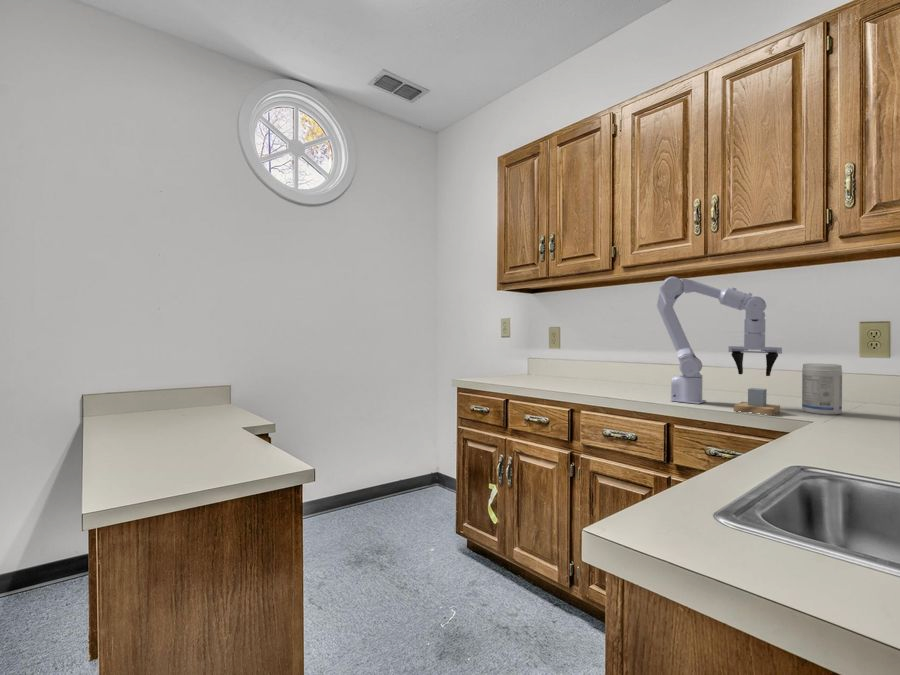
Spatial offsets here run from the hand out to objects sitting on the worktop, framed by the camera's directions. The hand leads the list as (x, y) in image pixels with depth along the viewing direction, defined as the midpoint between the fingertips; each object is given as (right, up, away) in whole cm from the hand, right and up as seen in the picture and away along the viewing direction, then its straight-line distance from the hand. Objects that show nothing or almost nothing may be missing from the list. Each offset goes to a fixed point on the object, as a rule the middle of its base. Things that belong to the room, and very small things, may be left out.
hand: (754, 375), depth 151 cm
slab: (-5, -11, -9) cm, 15 cm away
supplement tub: (+14, -11, -10) cm, 20 cm away
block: (-5, -9, -9) cm, 13 cm away
